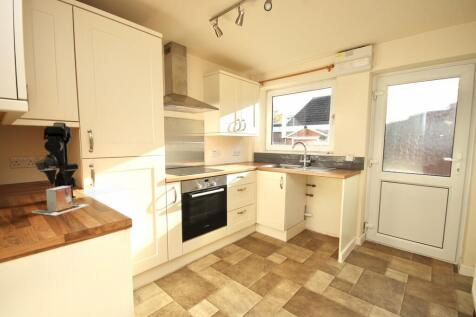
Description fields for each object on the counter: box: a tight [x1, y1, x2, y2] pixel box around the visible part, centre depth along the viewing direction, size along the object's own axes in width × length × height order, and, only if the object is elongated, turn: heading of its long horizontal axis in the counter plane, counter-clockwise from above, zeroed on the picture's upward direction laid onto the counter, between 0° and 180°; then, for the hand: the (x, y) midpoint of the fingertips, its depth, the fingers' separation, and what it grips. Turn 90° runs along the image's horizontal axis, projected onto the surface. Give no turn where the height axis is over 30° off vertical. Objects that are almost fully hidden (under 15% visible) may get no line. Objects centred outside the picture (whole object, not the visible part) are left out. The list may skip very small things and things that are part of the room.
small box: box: [45, 185, 73, 212], centre depth 107 cm, size 8×6×10 cm
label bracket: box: [30, 202, 90, 217], centre depth 107 cm, size 16×16×1 cm
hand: (59, 184), depth 106 cm, fingers open, 9 cm apart
